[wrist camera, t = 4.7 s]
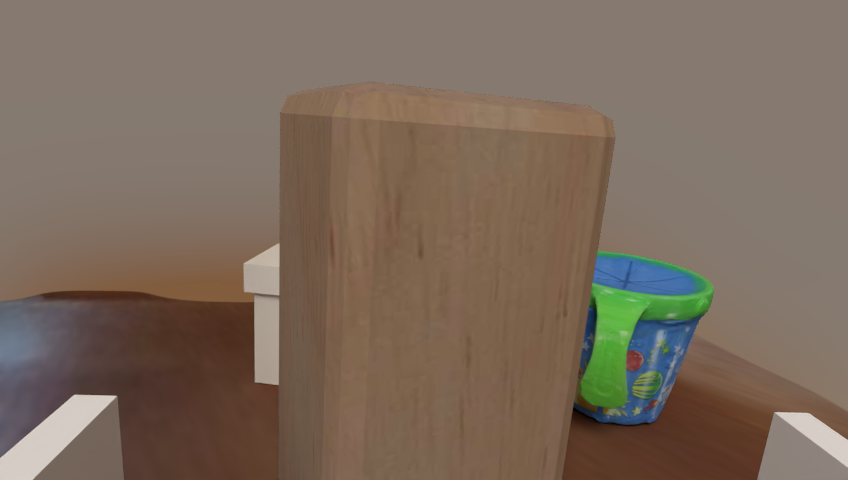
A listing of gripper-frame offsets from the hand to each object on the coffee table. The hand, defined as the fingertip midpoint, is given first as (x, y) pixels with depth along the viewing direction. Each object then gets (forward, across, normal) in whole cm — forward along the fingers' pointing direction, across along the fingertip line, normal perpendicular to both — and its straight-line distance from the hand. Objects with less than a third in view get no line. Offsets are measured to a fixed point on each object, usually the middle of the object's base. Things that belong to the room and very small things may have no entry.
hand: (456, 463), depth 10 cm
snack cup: (+24, +15, -12) cm, 31 cm away
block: (+11, 0, -12) cm, 17 cm away
